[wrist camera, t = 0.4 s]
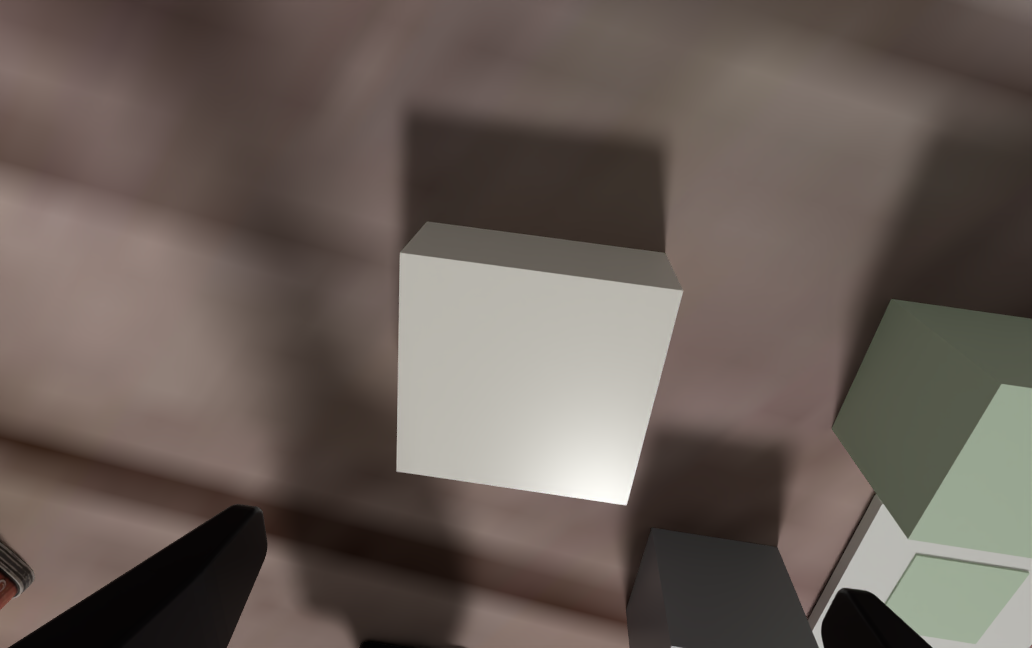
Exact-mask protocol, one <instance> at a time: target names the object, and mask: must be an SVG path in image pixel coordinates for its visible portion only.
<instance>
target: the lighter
mask: <svg viewBox="0 0 1032 648" xmlns="http://www.w3.org/2000/svg"><path fill="white" fill-rule="evenodd" d="M33 581H34V573H33V571H32V570H31V568H30V567H29V566H28V565H27V564H25V563H24V562H23V561H22V560H21V559H20V558H19V557H17V556H16V555H15V554H14V553H13V552H12V551H11V550H9V549H8V548H7V547H6V546H4V545H3V544H2V543H0V610H1V609H2V608H3V607H4V606H5V605H6V604H7V603H8V602H9V601H10V600H11V599H14V598H16V597H18V596H19V595H20V594H21V593H22V592H23V591H24V590H25V589H26V588H28V587H29V586H30V585H31V584H32V582H33Z"/></svg>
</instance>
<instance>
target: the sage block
mask: <svg viewBox="0 0 1032 648" xmlns="http://www.w3.org/2000/svg"><path fill="white" fill-rule="evenodd" d="M832 430H833V432H834V433H835V434H836V436H837V437H838V439H839V440H840V442H841V443H842V445H843V446H844V447H845V449H846V450H847V452H848V453H849V455H850V456H851V458H852V459H853V460H854V462H855V463H856V465H857V466H858V468H859V469H860V471H861V472H862V474H863V475H864V476H865V478H866V479H867V481H868V482H869V484H870V485H871V487H872V488H873V489H874V491H875V492H876V494H877V495H878V497H879V498H880V500H881V501H882V502H883V504H884V505H885V507H886V508H887V510H888V511H889V513H890V514H891V516H892V517H893V518H894V520H895V521H896V523H897V524H898V526H899V527H900V529H901V530H902V531H903V533H904V534H905V536H906V537H907V539H909V540H916V541H922V542H929V543H935V544H941V545H948V546H954V547H961V548H967V549H974V550H980V551H987V552H993V553H1000V554H1006V555H1013V556H1019V557H1026V558H1032V319H1030V318H1023V317H1016V316H1009V315H1002V314H995V313H988V312H981V311H974V310H967V309H959V308H952V307H945V306H938V305H931V304H924V303H917V302H910V301H903V300H896V299H891V300H890V302H889V305H888V307H887V309H886V311H885V313H884V316H883V318H882V320H881V322H880V324H879V326H878V329H877V331H876V333H875V335H874V337H873V340H872V342H871V344H870V346H869V348H868V350H867V353H866V355H865V357H864V359H863V361H862V364H861V366H860V368H859V370H858V372H857V374H856V377H855V379H854V381H853V383H852V385H851V387H850V390H849V392H848V394H847V396H846V398H845V401H844V403H843V405H842V407H841V409H840V411H839V414H838V416H837V418H836V420H835V422H834V425H833V427H832Z"/></svg>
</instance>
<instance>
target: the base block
mask: <svg viewBox="0 0 1032 648" xmlns="http://www.w3.org/2000/svg"><path fill="white" fill-rule="evenodd" d="M682 293H683V289H682V287H681V285H680V283H679V281H678V279H677V276H676V274H675V272H674V270H673V268H672V266H671V264H670V262H669V260H668V257H667V255H666V253H662V252H655V251H647V250H640V249H632V248H624V247H617V246H609V245H602V244H594V243H587V242H579V241H572V240H564V239H556V238H549V237H541V236H534V235H526V234H519V233H511V232H504V231H496V230H488V229H481V228H473V227H466V226H458V225H451V224H443V223H436V222H428V221H427V222H426V223H425V224H424V225H423V226H422V228H421V229H420V230H419V231H418V232H417V233H416V235H415V236H414V237H413V238H412V239H411V240H410V242H409V243H408V244H407V245H406V246H405V247H404V248H403V250H402V251H401V252H400V277H399V340H398V404H397V467H396V471H397V472H404V473H411V474H418V475H424V476H431V477H438V478H445V479H451V480H458V481H465V482H472V483H479V484H485V485H492V486H499V487H506V488H513V489H519V490H526V491H533V492H540V493H547V494H553V495H560V496H567V497H574V498H581V499H587V500H594V501H601V502H608V503H614V504H621V505H627V502H628V498H629V495H630V491H631V487H632V483H633V479H634V476H635V472H636V468H637V464H638V460H639V457H640V453H641V449H642V445H643V441H644V438H645V434H646V430H647V426H648V422H649V419H650V415H651V411H652V407H653V404H654V400H655V396H656V392H657V388H658V385H659V381H660V377H661V373H662V369H663V366H664V362H665V358H666V354H667V350H668V347H669V343H670V339H671V335H672V331H673V328H674V324H675V320H676V316H677V312H678V309H679V305H680V301H681V297H682Z"/></svg>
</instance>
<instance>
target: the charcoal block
mask: <svg viewBox="0 0 1032 648" xmlns="http://www.w3.org/2000/svg"><path fill="white" fill-rule="evenodd" d="M626 615H627V626H628V636H629V646H630V648H819V647H818V644H817V642H816V639H815V637H814V634H813V632H812V630H811V627H810V625H809V622H808V620H807V618H806V615H805V613H804V610H803V608H802V606H801V603H800V601H799V598H798V596H797V593H796V591H795V589H794V586H793V584H792V581H791V579H790V577H789V574H788V572H787V569H786V567H785V565H784V562H783V560H782V557H781V555H780V552H779V550H778V548H777V547H773V546H767V545H761V544H754V543H748V542H741V541H735V540H728V539H722V538H716V537H709V536H703V535H696V534H690V533H683V532H677V531H670V530H664V529H658V528H651V531H650V534H649V538H648V541H647V544H646V547H645V550H644V554H643V557H642V560H641V563H640V567H639V570H638V573H637V576H636V580H635V583H634V586H633V589H632V592H631V596H630V599H629V602H628V605H627V609H626Z"/></svg>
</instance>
